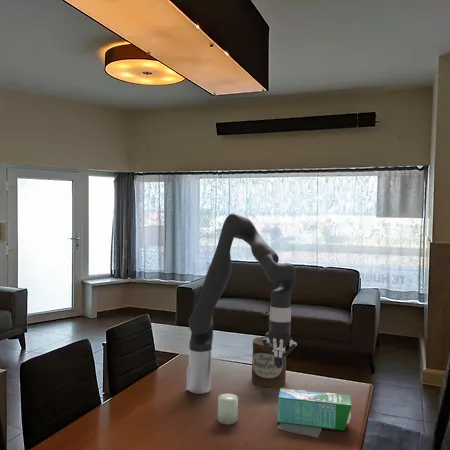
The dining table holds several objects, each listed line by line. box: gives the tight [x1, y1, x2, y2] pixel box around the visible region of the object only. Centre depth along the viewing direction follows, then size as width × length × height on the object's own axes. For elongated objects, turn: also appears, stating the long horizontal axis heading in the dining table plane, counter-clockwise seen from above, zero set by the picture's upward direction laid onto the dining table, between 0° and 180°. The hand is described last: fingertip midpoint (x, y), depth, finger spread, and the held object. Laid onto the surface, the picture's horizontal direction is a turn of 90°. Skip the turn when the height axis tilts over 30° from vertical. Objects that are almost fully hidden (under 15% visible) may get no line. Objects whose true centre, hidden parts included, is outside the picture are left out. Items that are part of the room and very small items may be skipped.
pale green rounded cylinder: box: [217, 393, 239, 425], centre depth 160 cm, size 7×7×8 cm
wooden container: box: [251, 331, 287, 389], centre depth 198 cm, size 15×15×22 cm
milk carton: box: [277, 387, 353, 431], centre depth 160 cm, size 9×9×25 cm
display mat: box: [276, 423, 323, 439], centre depth 158 cm, size 14×14×1 cm
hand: (278, 366), depth 161 cm, fingers closed
